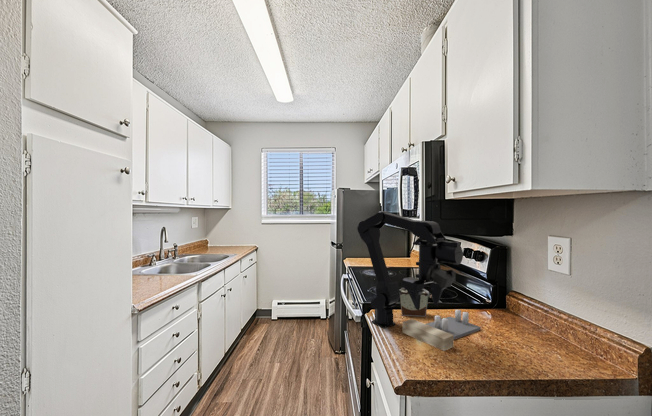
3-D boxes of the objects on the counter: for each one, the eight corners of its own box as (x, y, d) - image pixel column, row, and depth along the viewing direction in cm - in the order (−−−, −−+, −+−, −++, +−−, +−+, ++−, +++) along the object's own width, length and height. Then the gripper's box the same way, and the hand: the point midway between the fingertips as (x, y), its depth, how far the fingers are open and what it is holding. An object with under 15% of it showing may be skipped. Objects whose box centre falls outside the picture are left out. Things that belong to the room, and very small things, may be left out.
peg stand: (423, 327, 108) (423, 313, 108) (450, 318, 117) (450, 306, 117) (453, 340, 98) (453, 324, 98) (480, 329, 107) (480, 315, 107)
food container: (426, 311, 125) (426, 287, 125) (429, 316, 119) (430, 291, 119) (395, 310, 126) (396, 286, 126) (398, 315, 120) (398, 290, 120)
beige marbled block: (402, 333, 104) (402, 321, 104) (411, 330, 107) (411, 318, 106) (444, 352, 91) (444, 338, 91) (453, 347, 93) (453, 335, 93)
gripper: (429, 266, 87) (428, 320, 87) (467, 261, 97) (466, 309, 97) (400, 260, 96) (399, 309, 96) (437, 256, 106) (436, 300, 106)
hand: (426, 307), depth 99 cm, fingers open, 9 cm apart
